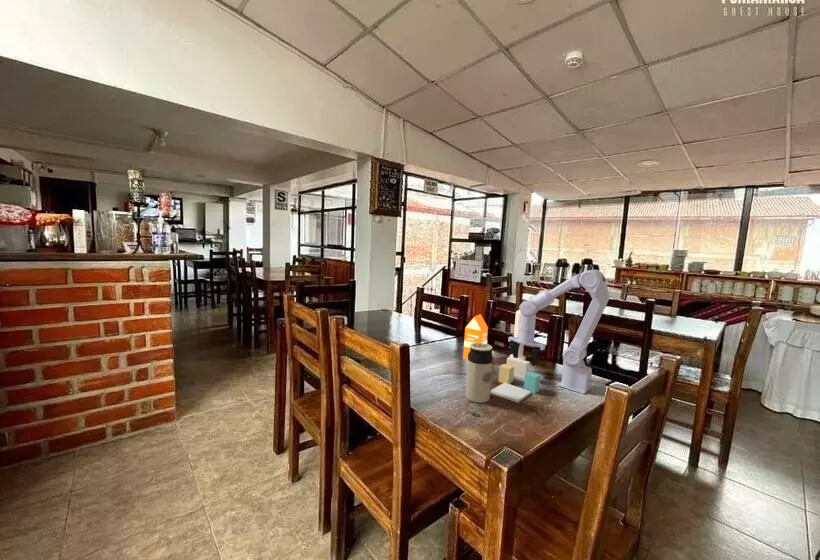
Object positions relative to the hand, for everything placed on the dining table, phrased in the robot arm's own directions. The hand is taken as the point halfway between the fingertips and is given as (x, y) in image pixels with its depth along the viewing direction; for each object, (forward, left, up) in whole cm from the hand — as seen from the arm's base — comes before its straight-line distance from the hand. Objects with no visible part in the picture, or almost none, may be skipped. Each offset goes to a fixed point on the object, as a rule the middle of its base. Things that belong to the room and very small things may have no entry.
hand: (524, 362), depth 133 cm
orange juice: (+23, 0, -5) cm, 23 cm away
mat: (-5, +22, -4) cm, 23 cm away
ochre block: (+1, +14, -4) cm, 14 cm away
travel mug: (+1, +34, -5) cm, 34 cm away
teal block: (-9, +14, -4) cm, 17 cm away
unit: (0, +6, -4) cm, 7 cm away
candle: (+10, -16, -5) cm, 19 cm away
